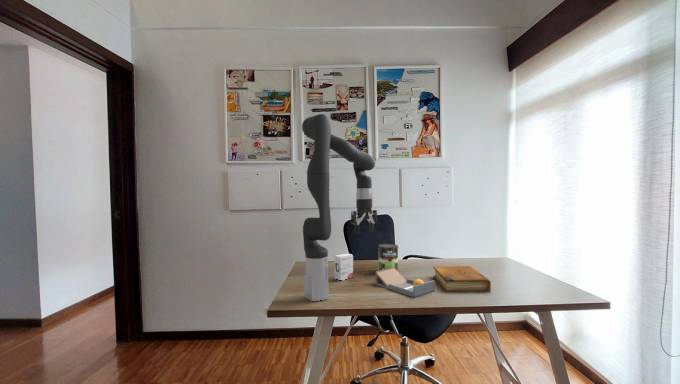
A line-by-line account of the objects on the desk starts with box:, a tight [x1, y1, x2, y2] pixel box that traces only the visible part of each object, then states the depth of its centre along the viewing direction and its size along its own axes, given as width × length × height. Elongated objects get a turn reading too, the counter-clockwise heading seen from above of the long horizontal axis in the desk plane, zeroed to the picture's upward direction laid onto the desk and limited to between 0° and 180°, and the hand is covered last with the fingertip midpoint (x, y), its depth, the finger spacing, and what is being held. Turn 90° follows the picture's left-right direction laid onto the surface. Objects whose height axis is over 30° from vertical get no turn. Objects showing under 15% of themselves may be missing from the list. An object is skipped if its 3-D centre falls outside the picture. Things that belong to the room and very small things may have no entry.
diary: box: [432, 265, 492, 293], centre depth 152 cm, size 23×19×6 cm
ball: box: [413, 278, 425, 286], centre depth 141 cm, size 5×5×5 cm
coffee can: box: [378, 243, 399, 272], centre depth 173 cm, size 10×10×14 cm
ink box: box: [334, 253, 354, 281], centre depth 163 cm, size 9×5×12 cm, turn 129°
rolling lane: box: [374, 267, 436, 298], centre depth 148 cm, size 13×24×6 cm, turn 37°
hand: (364, 232), depth 155 cm, fingers open, 8 cm apart
